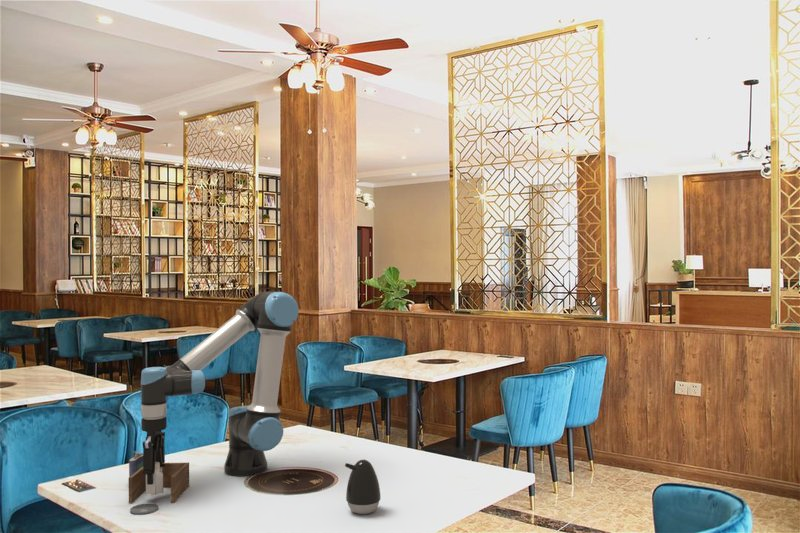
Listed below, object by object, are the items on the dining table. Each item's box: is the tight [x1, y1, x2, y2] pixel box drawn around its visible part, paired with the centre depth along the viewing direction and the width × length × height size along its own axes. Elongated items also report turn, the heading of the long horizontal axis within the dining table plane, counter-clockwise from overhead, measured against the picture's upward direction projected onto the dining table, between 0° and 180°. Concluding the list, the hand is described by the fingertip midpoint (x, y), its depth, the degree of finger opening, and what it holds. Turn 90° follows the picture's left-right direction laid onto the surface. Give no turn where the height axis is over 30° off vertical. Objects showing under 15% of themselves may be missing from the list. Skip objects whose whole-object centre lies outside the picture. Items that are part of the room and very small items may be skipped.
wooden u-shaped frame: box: [128, 462, 190, 504], centre depth 219 cm, size 14×16×8 cm
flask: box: [128, 450, 143, 478], centre depth 232 cm, size 9×3×11 cm, turn 172°
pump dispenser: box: [344, 459, 381, 515], centre depth 202 cm, size 10×10×15 cm
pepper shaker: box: [151, 462, 164, 496], centre depth 214 cm, size 4×4×10 cm
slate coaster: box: [129, 503, 159, 516], centre depth 205 cm, size 8×8×1 cm
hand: (154, 490), depth 214 cm, fingers closed on pepper shaker, 5 cm apart
